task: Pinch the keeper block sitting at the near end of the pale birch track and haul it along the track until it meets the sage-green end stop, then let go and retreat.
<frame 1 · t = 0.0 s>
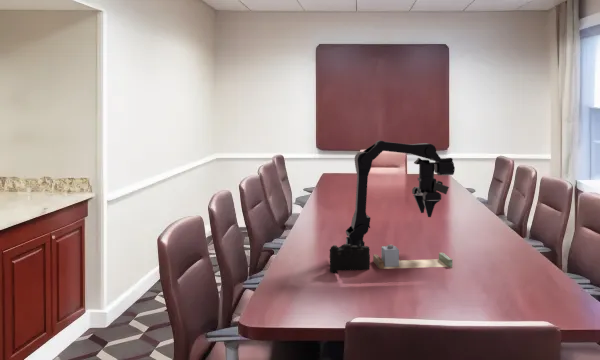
hand: (425, 215, 219), 15 cm above the table, fingers open, 9 cm apart
keeper: (390, 254, 198), point 5 cm above the table, slide at 0.0 cm
track: (411, 266, 199), on the table
camera: (348, 270, 196), on the table
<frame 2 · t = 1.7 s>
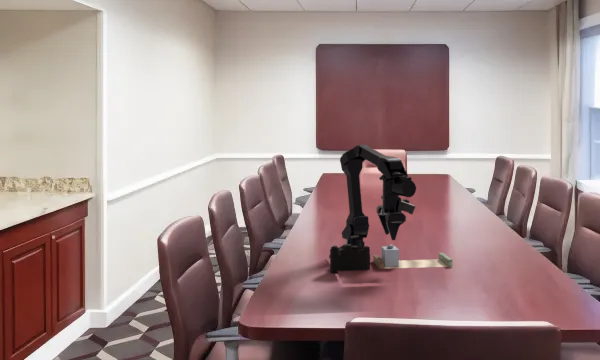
hand: (390, 237, 197), 11 cm above the table, fingers open, 9 cm apart
nothing on the table moved.
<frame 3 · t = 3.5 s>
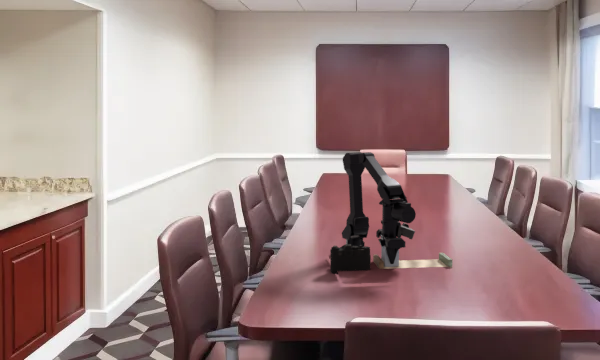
hand: (390, 261, 198), 2 cm above the table, fingers closed on keeper, 5 cm apart
keeper: (390, 254, 198), point 5 cm above the table, slide at 0.0 cm, touching gripper
everything else where it was.
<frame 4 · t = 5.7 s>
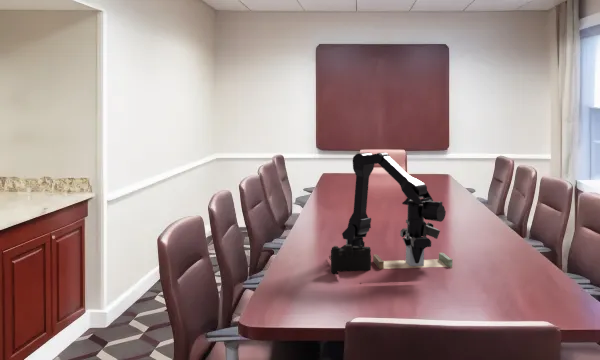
hand: (414, 261, 199), 2 cm above the table, fingers closed on keeper, 5 cm apart
keeper: (414, 254, 199), point 5 cm above the table, slide at 9.0 cm, touching gripper
everything else where it was.
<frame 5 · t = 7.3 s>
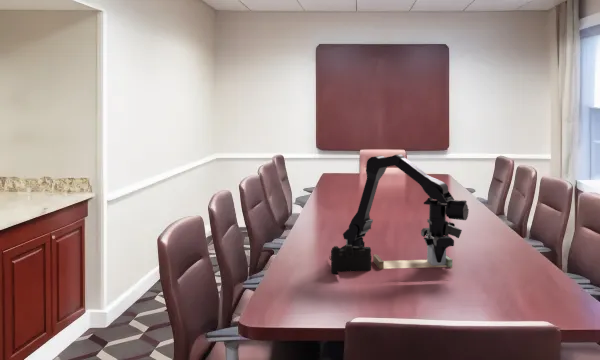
hand: (436, 260, 200), 2 cm above the table, fingers closed on keeper, 5 cm apart
keeper: (436, 253, 199), point 5 cm above the table, slide at 16.9 cm, touching gripper
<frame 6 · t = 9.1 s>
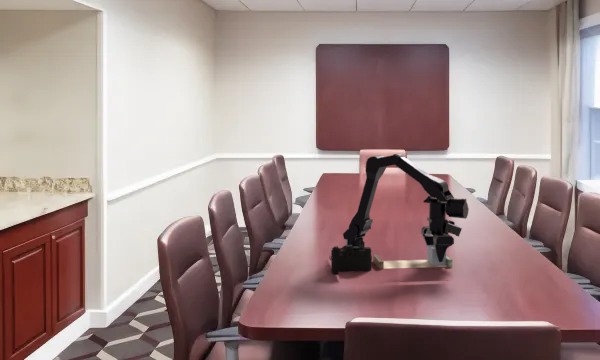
hand: (436, 258, 200), 3 cm above the table, fingers open, 9 cm apart
keeper: (436, 253, 199), point 5 cm above the table, slide at 16.9 cm
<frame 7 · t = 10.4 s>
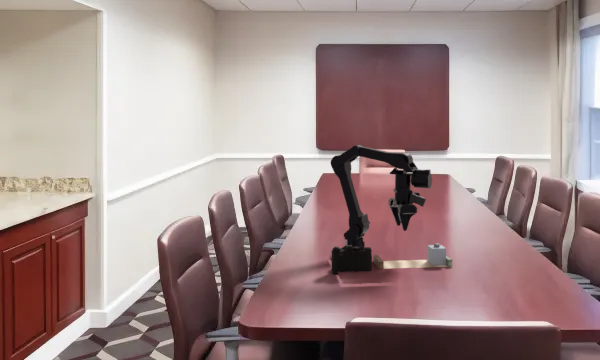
hand: (401, 228, 208), 12 cm above the table, fingers open, 9 cm apart
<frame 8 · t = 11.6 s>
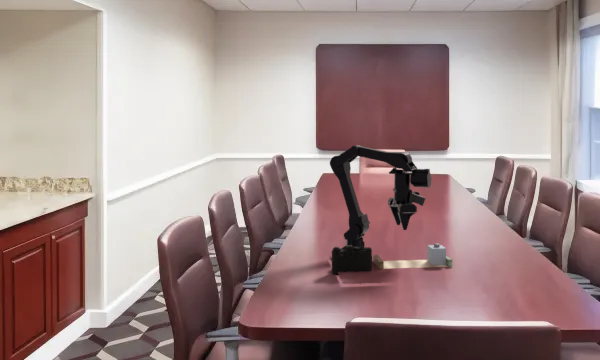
hand: (401, 227, 209), 12 cm above the table, fingers open, 9 cm apart
at the end: keeper slide at 16.9 cm; the gripper is holding nothing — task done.
